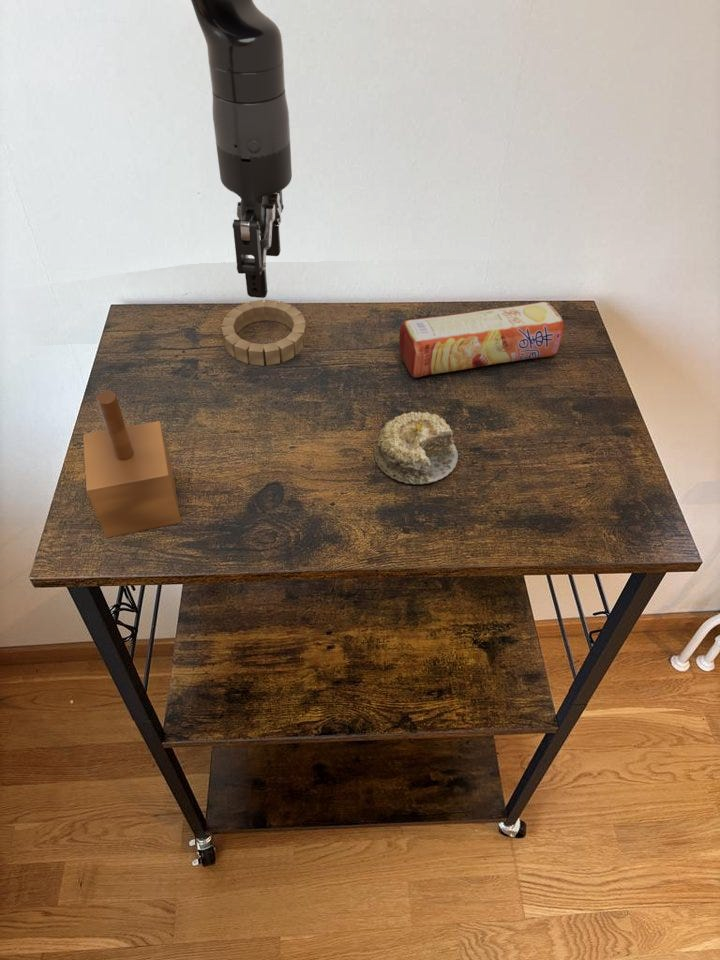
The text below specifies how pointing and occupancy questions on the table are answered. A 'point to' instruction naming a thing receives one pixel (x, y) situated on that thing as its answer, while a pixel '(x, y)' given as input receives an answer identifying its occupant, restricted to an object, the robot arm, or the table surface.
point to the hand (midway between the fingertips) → (264, 274)
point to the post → (129, 473)
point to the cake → (416, 448)
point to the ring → (270, 351)
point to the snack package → (480, 338)
